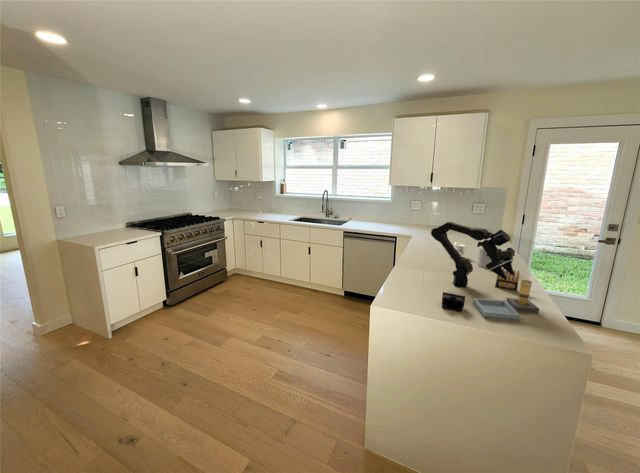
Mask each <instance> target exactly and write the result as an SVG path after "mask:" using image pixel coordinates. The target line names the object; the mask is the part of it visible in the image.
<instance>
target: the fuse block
mask: <svg viewBox="0 0 640 473" xmlns="http://www.w3.org/2000/svg"><path fill="white" fill-rule="evenodd" d="M506 301H507V302H508V303H509V304H510V305H511V306H512V307H513V308H514V309H515V310H516V311H517V312H518V313H528V314H539V312H540V308H539V307H538V306H537V305H536V304H534V303H533V302H532V301H531V300H530V299H528V304H527V306H525V305H519V304H518V303H517V302H518V298H516V297H515V298H512V297H506Z"/></svg>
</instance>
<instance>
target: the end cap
mask: <svg viewBox="0 0 640 473" xmlns="http://www.w3.org/2000/svg"><path fill="white" fill-rule="evenodd" d="M465 301H466V296H465V295H460V294H455V293H451V292H446V291H443V292H442V297H441V309H443V310H447V311H451V312H457V313H463V309H464V308H465Z"/></svg>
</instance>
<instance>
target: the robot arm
mask: <svg viewBox="0 0 640 473" xmlns="http://www.w3.org/2000/svg"><path fill="white" fill-rule="evenodd" d="M430 231H431V232H430V235H431V237H433V238H434V240H436V241H437V242H439V243H440V244H441V245H442V247H443V248H444V250H445V251H446V252H447V254H448V255H449V257H450V258H451V259H452V260H453V262H454V265H455V266H454V267H455V269H456V270H454V271H452V275H453V281H452V284H453V285H454V287H456V288H468V282H469V279H468V276H469V274H471V273H472V272H473V270H474V267H473V264H472V263H471V262H470V260H469V259H468V258H466V259H464V258H463V257H462V255H461V256H460V254H459V253H458V252H457V250H456V249H455V248H454V244H453V243H452V242H451V241H450V240H449V237H448V233H447V232H449V231H454V232H457V233H460V234H463V235H467V236H469V237H470V238H472V239H474V240H475V241H477V245H476V247H477V248H480V247H481V246H482V247H483V249H484V250H485V252H486V253H487V255H486V256H487V257H488V256H489V258H490V259H491V262H490V263H488V264H486V268H485V269H487V270H489V271H490V272H493V273H494V274H496V276H497V275H499V276H500V277H502V278H503V279H508V278H506V275H505V272H506V271H507V272H508V274H509V273H510V274H511V276H512V275H514V268H513V265H512V264H513V261H514V257H515V256H516V254H515V252H516V250H515V248H514V249H513V247H507V248H506V250H502V249H501V248H498V247H501V246H502V245H505V244H506V243H509V242H510V241H511V237H510V235H509V234H508V233H507V232H506V231H504V230H503V229H500V230H497V232H494V233H493V232H490V231H488V229H486V228H482V227H481V228H480V227H470V226H468V225H467V226H466V225H462V224H458V223H455V222H453V221H448V222H445V223H444V224H442V225H439V226H438V227H435V228H432V229H431V230H430ZM483 240H484V241H483ZM503 268H504V271H503Z"/></svg>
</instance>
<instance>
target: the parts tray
mask: <svg viewBox="0 0 640 473" xmlns="http://www.w3.org/2000/svg"><path fill="white" fill-rule="evenodd" d="M472 305H473V306H474V307H475V309H476V311H478V312H479V314H480V315H481V316H482V318H483V319H487V320H488V319H489V320H498V321H499V320H501V321H511V322H521V316H522V315H521V314H520V312H517V311H516V310H515V309H514V308H513V307H512V306H511V305H510V304H509V303H508V302H507V301H506V300H503V299H492V298H491V299H489V298H477V297H472Z"/></svg>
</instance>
